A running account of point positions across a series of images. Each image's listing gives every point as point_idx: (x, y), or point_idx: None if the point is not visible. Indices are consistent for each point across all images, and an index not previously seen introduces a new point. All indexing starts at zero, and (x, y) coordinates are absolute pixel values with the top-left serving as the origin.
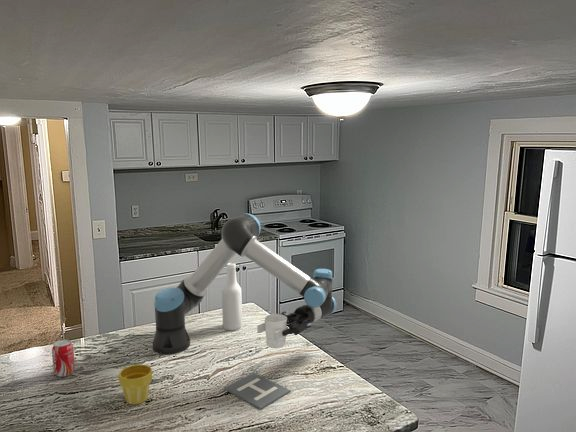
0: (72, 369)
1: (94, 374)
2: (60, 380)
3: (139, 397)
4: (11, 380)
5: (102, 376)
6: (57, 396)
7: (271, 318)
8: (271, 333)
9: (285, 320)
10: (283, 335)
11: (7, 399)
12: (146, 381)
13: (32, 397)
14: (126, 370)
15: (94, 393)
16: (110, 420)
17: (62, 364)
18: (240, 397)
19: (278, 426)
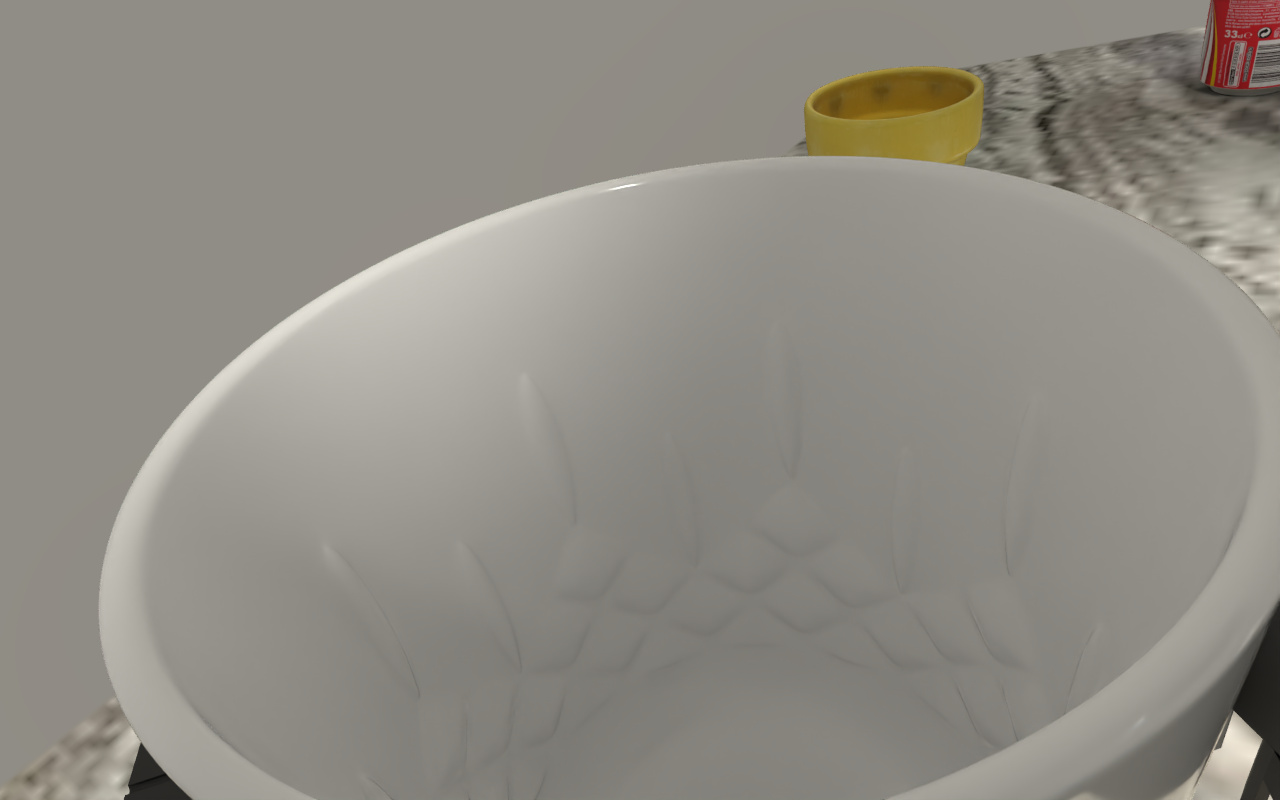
0: (1236, 72)
1: (1220, 135)
2: (1174, 90)
3: None
4: (1203, 32)
5: (1189, 152)
6: (1026, 106)
7: (1152, 460)
8: (559, 518)
9: (109, 597)
10: None
11: (1050, 55)
12: (819, 148)
13: (1043, 78)
14: (953, 86)
15: (1011, 157)
16: None
17: (1209, 21)
18: None
19: (115, 703)
